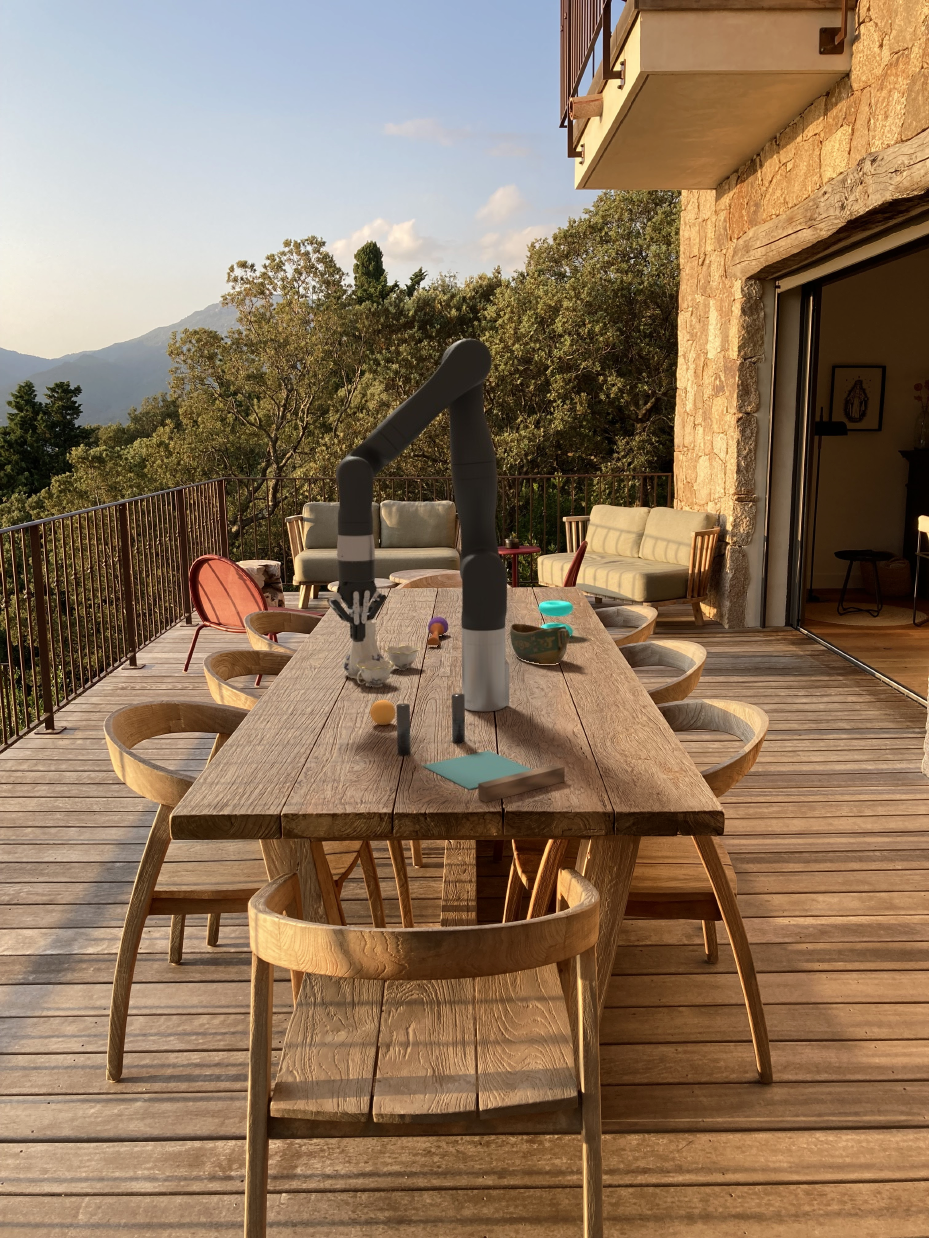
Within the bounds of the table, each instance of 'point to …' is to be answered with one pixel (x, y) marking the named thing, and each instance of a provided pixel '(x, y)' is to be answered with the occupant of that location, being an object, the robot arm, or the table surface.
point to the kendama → (436, 629)
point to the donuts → (556, 612)
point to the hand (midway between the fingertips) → (358, 641)
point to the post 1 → (403, 729)
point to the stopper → (521, 782)
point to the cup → (539, 643)
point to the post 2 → (458, 718)
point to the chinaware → (376, 658)
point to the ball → (382, 712)
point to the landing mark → (476, 768)
